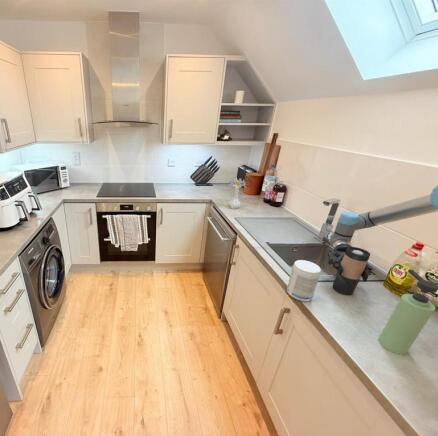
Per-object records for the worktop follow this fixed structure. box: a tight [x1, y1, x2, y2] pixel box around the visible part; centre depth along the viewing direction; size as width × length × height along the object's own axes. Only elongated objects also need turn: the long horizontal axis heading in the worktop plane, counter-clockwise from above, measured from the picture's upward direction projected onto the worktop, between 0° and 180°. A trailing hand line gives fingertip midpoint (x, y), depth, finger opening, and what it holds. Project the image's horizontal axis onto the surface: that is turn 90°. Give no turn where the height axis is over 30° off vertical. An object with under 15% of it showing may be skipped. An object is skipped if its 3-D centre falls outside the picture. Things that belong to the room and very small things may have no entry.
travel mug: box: [332, 246, 371, 296], centre depth 100 cm, size 8×8×20 cm
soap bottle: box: [377, 292, 436, 356], centre depth 75 cm, size 7×7×21 cm
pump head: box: [407, 268, 438, 295], centre depth 72 cm, size 10×4×3 cm, turn 161°
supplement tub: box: [286, 259, 322, 302], centre depth 99 cm, size 10×10×15 cm
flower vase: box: [228, 177, 247, 210], centre depth 194 cm, size 13×18×25 cm
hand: (353, 275), depth 96 cm, fingers closed on travel mug, 7 cm apart
